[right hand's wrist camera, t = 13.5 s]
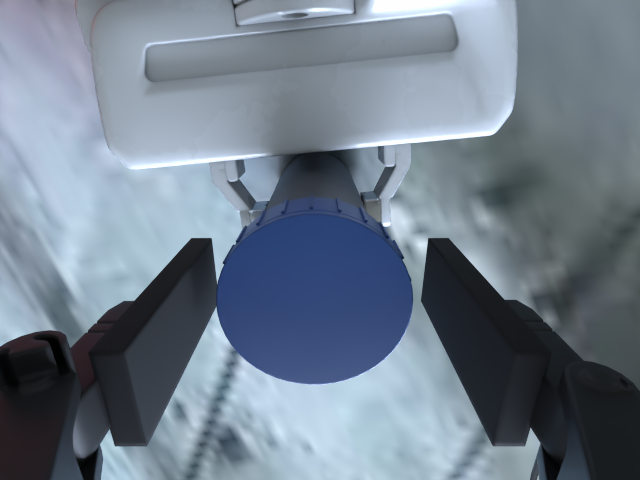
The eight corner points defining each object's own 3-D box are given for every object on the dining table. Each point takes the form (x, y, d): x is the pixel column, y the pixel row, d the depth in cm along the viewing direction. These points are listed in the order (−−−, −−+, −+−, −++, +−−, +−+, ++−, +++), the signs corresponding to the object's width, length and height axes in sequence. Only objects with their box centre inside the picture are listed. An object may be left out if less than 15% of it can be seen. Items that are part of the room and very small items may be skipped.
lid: (430, 226, 13) (449, 247, 11) (365, 367, 15) (372, 404, 13) (252, 169, 12) (240, 182, 10) (212, 326, 14) (196, 361, 12)
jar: (364, 165, 26) (423, 251, 12) (339, 233, 28) (363, 382, 13) (291, 141, 26) (255, 200, 11) (270, 212, 28) (216, 345, 13)
